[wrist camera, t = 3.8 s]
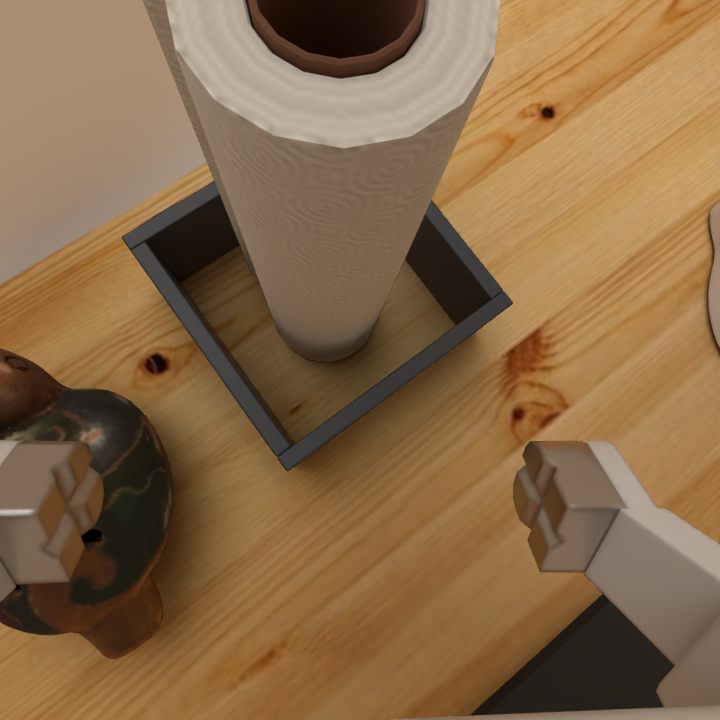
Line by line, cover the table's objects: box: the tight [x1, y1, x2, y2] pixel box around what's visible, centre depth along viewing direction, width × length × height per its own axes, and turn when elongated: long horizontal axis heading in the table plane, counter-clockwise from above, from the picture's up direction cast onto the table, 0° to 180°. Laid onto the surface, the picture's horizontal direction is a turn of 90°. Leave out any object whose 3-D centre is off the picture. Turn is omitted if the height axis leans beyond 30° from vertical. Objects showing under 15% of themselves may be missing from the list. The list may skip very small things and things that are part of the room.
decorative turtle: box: [0, 349, 174, 659], centre depth 23 cm, size 10×15×8 cm, turn 33°
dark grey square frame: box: [122, 181, 513, 471], centre depth 27 cm, size 14×14×6 cm
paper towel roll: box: [143, 0, 500, 362], centre depth 19 cm, size 7×6×21 cm
